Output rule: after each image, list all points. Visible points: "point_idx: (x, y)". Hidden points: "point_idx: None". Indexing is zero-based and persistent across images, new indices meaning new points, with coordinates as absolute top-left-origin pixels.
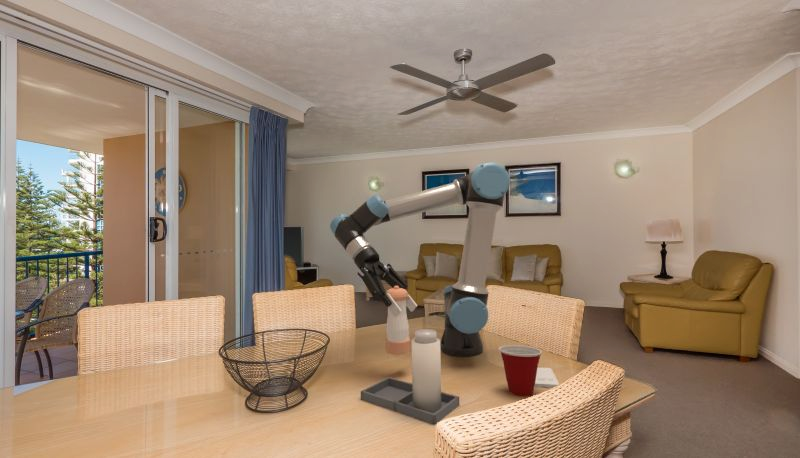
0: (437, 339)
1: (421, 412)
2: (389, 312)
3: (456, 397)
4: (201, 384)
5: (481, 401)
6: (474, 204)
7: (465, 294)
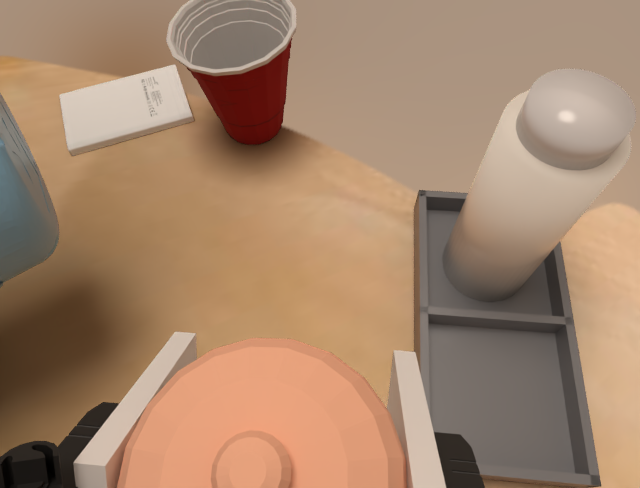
0: (520, 103)
1: None
2: None
3: (428, 193)
4: None
5: (340, 182)
6: None
7: None
